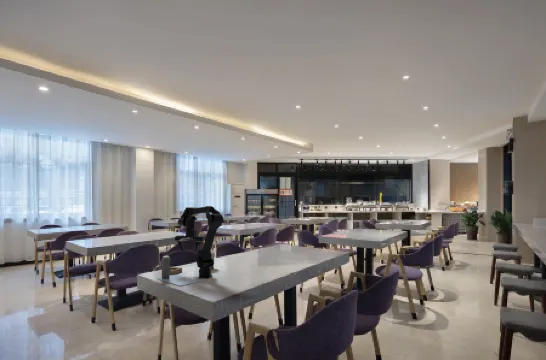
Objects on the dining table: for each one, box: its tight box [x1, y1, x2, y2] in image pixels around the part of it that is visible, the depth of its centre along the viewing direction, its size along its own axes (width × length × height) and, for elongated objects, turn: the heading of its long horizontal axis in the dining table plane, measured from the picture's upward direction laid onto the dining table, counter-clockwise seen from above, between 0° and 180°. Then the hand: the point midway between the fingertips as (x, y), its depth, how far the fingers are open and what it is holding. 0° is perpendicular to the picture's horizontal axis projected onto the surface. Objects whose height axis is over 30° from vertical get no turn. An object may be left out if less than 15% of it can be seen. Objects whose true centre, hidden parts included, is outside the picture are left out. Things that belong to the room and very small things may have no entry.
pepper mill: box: [161, 255, 171, 279], centre depth 181 cm, size 4×4×12 cm
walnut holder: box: [170, 266, 183, 275], centre depth 197 cm, size 8×8×2 cm
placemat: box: [157, 274, 201, 287], centre depth 177 cm, size 24×13×1 cm, turn 48°
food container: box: [204, 251, 216, 270], centre depth 208 cm, size 12×6×10 cm, turn 168°
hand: (189, 252), depth 196 cm, fingers open, 9 cm apart
